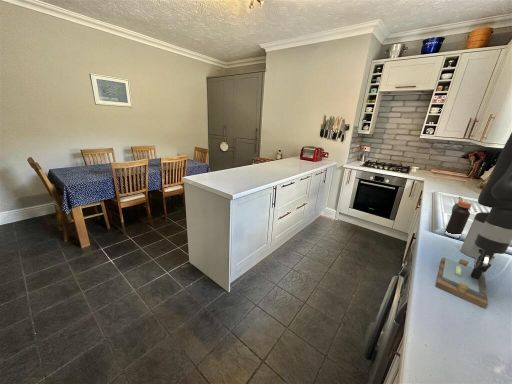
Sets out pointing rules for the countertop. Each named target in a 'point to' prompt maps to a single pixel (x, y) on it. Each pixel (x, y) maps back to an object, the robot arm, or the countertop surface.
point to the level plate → (462, 277)
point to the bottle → (458, 218)
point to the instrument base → (454, 291)
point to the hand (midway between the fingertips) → (474, 277)
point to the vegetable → (457, 204)
